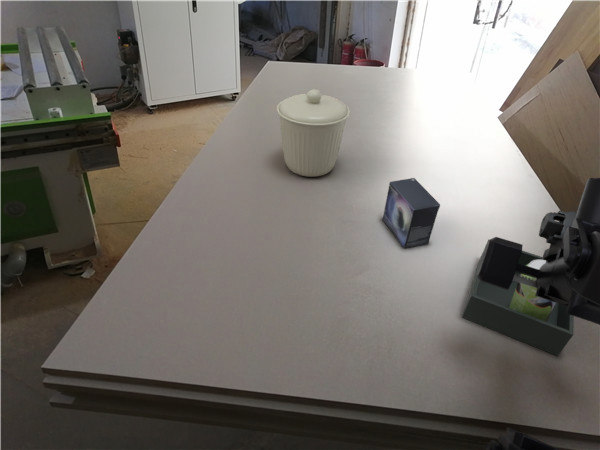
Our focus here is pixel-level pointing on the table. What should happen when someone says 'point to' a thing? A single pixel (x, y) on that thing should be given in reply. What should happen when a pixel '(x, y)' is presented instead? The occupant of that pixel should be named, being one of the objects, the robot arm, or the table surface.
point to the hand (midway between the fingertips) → (541, 284)
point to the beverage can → (531, 297)
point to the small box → (410, 212)
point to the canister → (311, 132)
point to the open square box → (517, 314)
